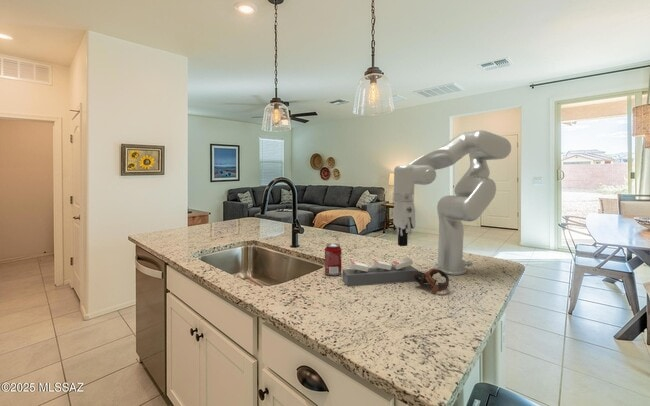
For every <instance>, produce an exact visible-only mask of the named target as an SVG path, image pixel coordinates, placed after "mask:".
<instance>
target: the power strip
mask: <svg viewBox="0 0 650 406" xmlns="http://www.w3.org/2000/svg"><path fill="white" fill-rule="evenodd" d="M417 271H419V269H417V268H416V267H415V266H412V265H409V266H406V267H403V268H400V269H398V270H396V269H395V268H393V267H392V265H391V270H387V269H382V268H377V267H373V266H372V267H369V269H368V272H366V271H361V270H356V269H351V268H344V269H342V281H343V282H344V283H345V285H346V287H354V286H365V285H368V286H369V285H379V284H380V285H381V284H392V283H406V282H416V281H415V280H414V277H413V274H414V273H415V272H417ZM417 277H418V278H420V277H419V276H417Z"/></svg>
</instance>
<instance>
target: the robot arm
mask: <svg viewBox="0 0 650 406" xmlns="http://www.w3.org/2000/svg"><path fill="white" fill-rule="evenodd" d="M511 152H512V145H511V142H510V140H508V139H507V138H506V137H504V136H501V135H499V134H496V133H493V132H491V131H487V130H482V129H481V130H474V131H473V130H472V131H467V132H462V133H459V134H458V135H456V136H455V137H453V138H452V139H450V140H449V141H447V142H446V143H445V144H443V145H442V146H441V147H439V148H437V149H434V150H432V151H430V152H428V153H426V154H424V155H422V156H421V155H420V156H419V157H417V158H416V159H414V160H412V161H411V162H410V163H408V164H407V165H397V166H395V167H394V169H393V203H394V204H393V215H392V217H393V218H392V221H393V223H392V224H393V225H394V227H395V228H396V231H397V245H398V246H399V247H407V246H408V240H409V239H408V236H409V234H410V233H412V231H411V230H414V229H416V208H415V185H419V186H421V185H422V186H426V185H427V186H428V185H430V184H432V183H433V182H434V181H435V180H436V178H437V171H436V170H442V169H445V168H449V167H451V166H453V165H455V164H456V163H457V162H458V161H460V160H461V159H463V158H464V157H466V155H468V156H469V168H468V169H467V171H466V172H465V173H463V176H461V178H460V179H459V181H458V182H457V183H456V184H455V186H454V188H453V189H454V191H453V192H454V195H445V196H442V197H441V198H440V199H439V200H438V202H437V205H436V206H437V207H436V209H437V216H438V247H437V248H438V249H437V263H436V264H434V265H433V269H439V270H441V271H443V272H445V273H446V274H447V275H449V276H456V275H457V276H459V275H464V274H466V273H467V269H466V268H465V267H468V266H469V267H470V266H473V264H474V263H473V261H472V260H468V261H467V260H465V259H464V260H463V256H464V255H463V253H464V249H463V248H464V231H465V230H464V224H463V222H474V221H477V220H478V219H479V218H480V217H481V216H482V214H483V213H484V212H485V210H486V209H487V208H488V206H490V204H491V202H492V201H493V200H494V198H495V195H496V193H497V185H496V182H495V181H494V180H493V179H492V178H490V173H491V172H490V168H489V165H488V163H487V161H491V160H493V161H494V160H495V161H496V160H503V159H506V158H507V157H509V155H510V154H511Z"/></svg>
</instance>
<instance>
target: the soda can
mask: <svg viewBox="0 0 650 406" xmlns="http://www.w3.org/2000/svg"><path fill="white" fill-rule="evenodd" d="M324 272H325V274H327V275H329V276H333V277H334V276H339V275H340V274H341V273H342V248H341V245H340V243H336V242H335V243H333V242H332V243H327V244H326V247H325V248H324Z"/></svg>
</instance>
